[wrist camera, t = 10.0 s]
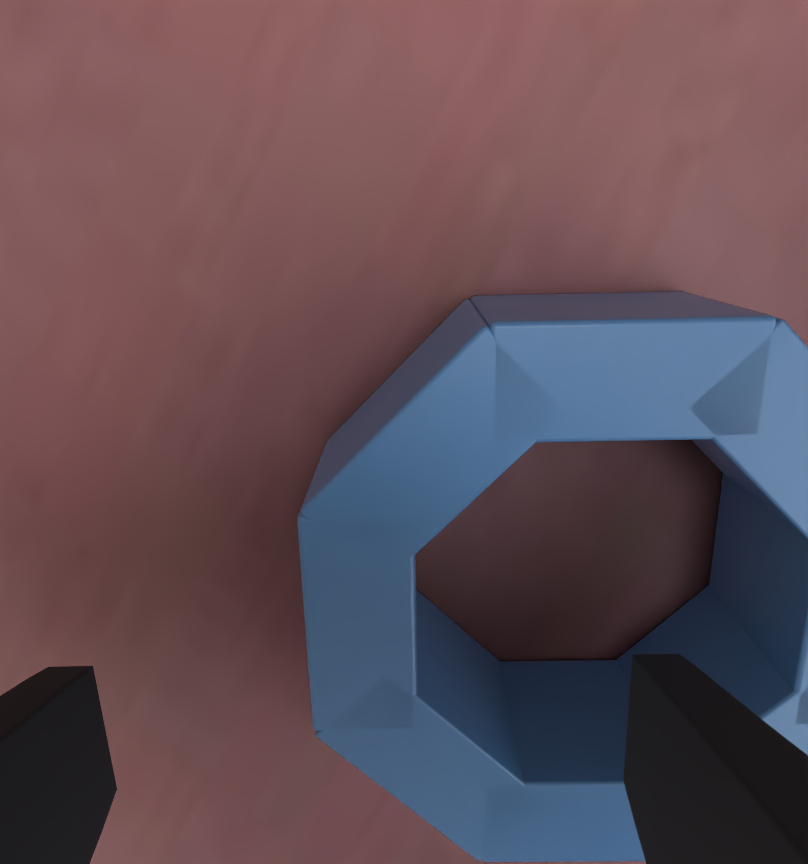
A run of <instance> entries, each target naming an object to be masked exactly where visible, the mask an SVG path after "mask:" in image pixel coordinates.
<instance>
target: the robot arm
mask: <svg viewBox="0 0 808 864" xmlns="http://www.w3.org/2000/svg"><path fill="white" fill-rule="evenodd" d="M623 781H624V785H625V789H626V793H627V796H628V800H629V804H630V808H631V811H632V815H633V819H634V823H635V826H636V830H637V833H638V837H639V840H640V844H641V847H642V850H643V854H644V857H645V861H646V864H808V755H807V754H805V753H804V752H803V751H802V750H800V749H799V748H798V747H796V746H795V745H794V744H793V743H791V742H790V741H789V740H787V739H786V738H785V737H784V736H782V735H781V734H780V733H779V732H777V731H776V730H775V729H773V728H772V727H771V726H770V725H768V724H767V723H766V722H765V721H763V720H762V719H761V718H760V717H758V716H757V715H756V714H755V713H753V712H752V711H751V710H750V709H748V708H747V707H746V706H745V705H743V704H742V703H741V702H740V701H738V700H737V699H736V698H735V697H734V696H732V695H731V694H730V693H729V692H727V691H726V690H725V689H724V688H722V687H721V686H720V685H719V684H717V683H716V682H715V681H714V680H713V679H711V678H710V677H709V676H708V675H706V674H705V673H704V672H703V671H701V670H700V669H699V668H698V667H696V666H695V665H694V664H692V663H691V662H690V661H688V660H687V659H686V658H684V657H683V656H682V655H680V654H634V655H632V667H631V681H630V694H629V708H628V722H627V736H626V750H625V764H624V778H623ZM116 790H117V787H116V782H115V777H114V772H113V767H112V762H111V757H110V752H109V746H108V741H107V736H106V731H105V726H104V721H103V716H102V711H101V706H100V700H99V695H98V690H97V685H96V680H95V675H94V670H93V666H70V667H47V668H46V669H44V670H42V671H40V672H39V673H37V674H35V675H33V676H32V677H30V678H28V679H27V680H25V681H23V682H22V683H20V684H18V685H17V686H15V687H14V688H12V689H11V690H9V691H7V692H6V693H4V694H3V695H1V696H0V864H89V863H90V861H91V858H92V856H93V853H94V850H95V848H96V845H97V843H98V840H99V838H100V835H101V832H102V830H103V827H104V824H105V821H106V818H107V815H108V813H109V810H110V807H111V804H112V801H113V798H114V796H115V793H116Z"/></svg>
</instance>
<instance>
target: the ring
mask: <svg viewBox="0 0 808 864" xmlns="http://www.w3.org/2000/svg"><path fill="white" fill-rule="evenodd" d="M637 440H692V442H693V443H694V444H695V445H696V446H697V447H698V448H699V449H700V450H701V451H702V452H703V453H704V454H705V455H706V456H707V457H708V458H709V459H710V460H711V461H712V462H713V463H714V464H715V465H716V466H717V467H718V468H719V469H720V470H721V471H722V473H723V478H722V486H721V494H720V502H719V510H718V518H717V526H716V534H715V542H714V550H713V558H712V567H711V575H710V583H709V585H708V586H707V587H706V588H705V589H703V590H702V591H701V592H700V593H698V594H697V595H696V596H695V597H693V598H692V599H691V600H690V601H689V602H687V603H686V604H685V605H684V606H682V607H681V608H680V609H679V610H677V611H676V612H675V613H674V614H672V615H671V616H670V617H669V618H667V619H666V620H665V621H664V622H662V623H661V624H660V625H659V626H658V627H656V628H655V629H654V630H653V631H651V632H650V633H649V634H648V635H646V636H645V637H644V638H643V639H641V640H640V641H639V642H638V643H636V644H635V645H634V646H633V647H632V648H630V649H629V650H628V651H627V652H625V653H624V654H623V655H622V656H620V657H619V658H618V659H617V660H572V661H499V660H498V659H496V658H495V657H494V656H493V655H492V654H491V653H489V652H488V651H487V650H486V649H485V648H484V647H482V646H481V645H480V644H479V643H478V642H477V641H475V640H474V639H473V638H472V637H471V636H470V635H469V634H467V633H466V632H465V631H464V630H463V629H462V628H460V627H459V626H458V625H457V624H456V623H455V622H453V621H452V620H451V619H450V618H449V617H448V616H446V615H445V614H444V613H443V612H442V611H441V610H439V609H438V608H437V607H436V606H435V605H434V604H432V603H431V602H430V601H429V600H428V599H427V598H425V597H424V596H423V595H422V594H421V593H420V592H418V591H417V590H416V553H418V552H419V551H420V550H421V549H422V548H423V547H424V546H425V545H426V544H427V543H428V542H429V541H430V540H431V539H433V538H434V537H435V536H436V535H437V534H438V533H439V532H440V531H441V530H442V529H443V528H444V527H445V526H446V525H448V524H449V523H450V522H451V521H452V520H453V519H454V518H455V517H456V516H457V515H458V514H459V513H460V512H462V511H463V510H464V509H465V508H466V507H467V506H468V505H469V504H470V503H471V502H472V501H473V500H474V499H475V498H477V497H478V496H479V495H480V494H481V493H482V492H483V491H484V490H485V489H486V488H487V487H488V486H489V485H490V484H492V483H493V482H494V481H495V480H496V479H497V478H498V477H499V476H500V475H501V474H502V473H503V472H504V471H506V470H507V469H508V468H509V467H510V466H511V465H512V464H513V463H514V462H515V461H516V460H517V459H518V458H519V457H521V456H522V455H523V454H524V453H525V452H526V451H527V450H528V449H529V448H530V447H531V446H532V445H533V444H534V443H536V442H578V441H637ZM297 526H298V540H299V553H300V567H301V580H302V594H303V607H304V621H305V634H306V647H307V661H308V674H309V688H310V701H311V715H312V726H313V728H314V730H315V735H316V737H317V738H319V739H320V740H321V741H323V742H324V743H325V744H326V745H328V746H329V747H330V748H332V749H333V750H334V751H336V752H337V753H338V754H339V755H341V756H342V757H343V758H345V759H346V760H347V761H349V762H350V763H351V764H352V765H354V766H355V767H356V768H358V769H359V770H360V771H362V772H363V773H364V774H365V775H367V776H368V777H369V778H371V779H372V780H373V781H375V782H376V783H377V784H378V785H380V786H381V787H382V788H384V789H385V790H386V791H388V792H389V793H390V794H391V795H393V796H394V797H395V798H397V799H398V800H399V801H401V802H402V803H403V804H404V805H406V806H407V807H408V808H410V809H411V810H412V811H414V812H415V813H416V814H417V815H419V816H420V817H421V818H423V819H424V820H425V821H427V822H428V823H429V824H430V825H432V826H433V827H434V828H436V829H437V830H438V831H440V832H441V833H442V834H443V835H445V836H446V837H447V838H449V839H450V840H451V841H453V842H454V843H455V844H456V845H458V846H459V847H460V848H462V849H463V850H464V851H466V852H467V853H468V854H469V855H471V856H472V857H473V858H475V859H476V860H478V861H479V860H481V859H482V860H483V861H484V862H560V861H645V857H644V854H643V850H642V847H641V844H640V840H639V837H638V833H637V830H636V826H635V823H634V819H633V815H632V811H631V808H630V804H629V800H628V796H627V793H626V789H625V785H624V781H623V778H624V764H625V750H626V736H627V722H628V708H629V694H630V681H631V667H632V655H634V654H680V655H682V656H683V657H684V658H686V659H687V660H688V661H690V662H691V663H692V664H694V665H695V666H696V667H698V668H699V669H700V670H701V671H703V672H704V673H705V674H706V675H708V676H709V677H710V678H711V679H713V680H714V681H715V682H716V683H717V684H719V685H720V686H721V687H722V688H724V689H725V690H726V691H727V692H729V693H730V694H731V695H732V696H734V697H735V698H736V699H737V700H738V701H740V702H741V703H742V704H743V705H745V706H746V707H747V708H748V709H750V710H751V711H752V712H753V713H755V714H756V715H757V716H758V717H760V718H761V719H762V720H763V721H765V722H766V723H767V724H768V725H770V726H771V727H772V728H773V729H775V730H776V731H777V732H779V733H780V734H781V735H782V736H784V737H785V738H786V739H787V740H789V741H790V742H791V743H793V744H794V745H795V746H796V747H798V748H799V749H800V750H802V751H803V752H804V753H805V754H807V755H808V347H807V345H806V344H805V343H804V342H803V341H802V340H801V339H800V337H799V336H798V335H797V334H796V333H795V332H794V331H793V330H792V328H791V327H790V326H789V325H788V324H787V323H786V322H785V320H782V319H780V318H776V317H773V316H771V315H767V314H764V313H760V312H756V311H753V310H749V309H745V308H741V307H738V306H734V305H730V304H727V303H723V302H719V301H715V300H712V299H708V298H704V297H700V296H697V295H693V294H689V293H686V292H682V291H670V292H623V293H575V294H527V295H479V296H473V297H471V299H470V300H469V299H466V300H464V301H463V302H462V303H461V304H460V305H459V306H458V307H457V308H456V309H455V310H454V311H453V312H452V313H451V314H450V315H449V316H448V317H447V318H446V319H445V320H444V321H443V322H442V323H441V324H440V325H439V326H438V327H437V328H436V329H435V330H434V331H433V332H432V333H431V335H430V336H429V337H428V338H427V339H426V340H425V341H424V342H423V343H422V344H421V345H420V346H419V347H418V348H417V349H416V350H415V351H414V352H413V353H412V354H411V355H410V356H409V357H408V358H407V359H406V360H405V361H404V362H403V363H402V364H401V365H400V366H399V367H398V368H397V369H396V370H395V371H394V373H393V374H392V375H391V376H390V377H389V378H388V379H387V380H386V381H385V382H384V383H383V384H382V385H381V386H380V387H379V388H378V389H377V390H376V391H375V392H374V393H373V394H372V395H371V396H370V397H369V398H368V399H367V400H366V401H365V402H364V403H363V404H362V405H361V406H360V407H359V408H358V409H357V411H356V412H355V413H354V414H353V415H352V416H351V417H350V418H349V419H348V420H347V421H346V422H345V423H344V424H343V425H342V426H341V427H340V428H339V429H338V430H337V431H336V432H335V433H334V434H333V435H332V436H331V437H330V438H329V439H328V440H327V443H326V445H325V448H324V450H323V453H322V456H321V458H320V461H319V463H318V466H317V469H316V471H315V474H314V476H313V479H312V482H311V484H310V487H309V489H308V492H307V495H306V497H305V500H304V502H303V505H302V508H301V510H300V513H299V516H298V519H297Z"/></svg>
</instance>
